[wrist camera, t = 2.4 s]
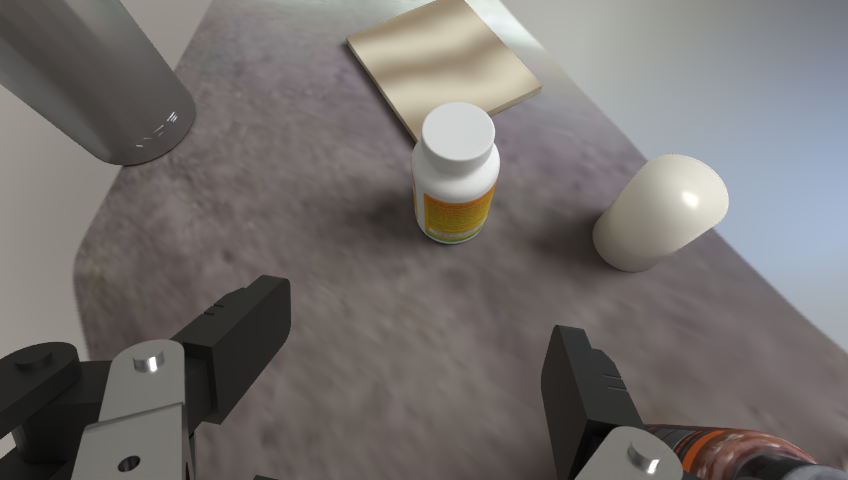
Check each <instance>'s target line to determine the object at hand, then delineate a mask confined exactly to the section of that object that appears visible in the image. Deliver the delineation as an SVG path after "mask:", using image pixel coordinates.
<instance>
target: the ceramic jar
mask: <svg viewBox="0 0 848 480" xmlns="http://www.w3.org/2000/svg"><path fill="white" fill-rule="evenodd" d="M728 204H729V197H728V192H727V189H726V187H725V185H724V183H723V182H722V180H721V179H720V177H719V176H718V175H717V174H716V173H715V172H714V171H713V170H712V169H711V168H710V167H708V166H707V165H705V164H704V163H702V162H700V161H698V160H696V159H693V158H691V157H687V156H684V155H677V154H667V155H661V156H657V157H655V158H653V159H651V160H649V161H648V162H647V163H646V164H645V165H644V166H643V167H642V168H641V169H640V170H639V172H638V173H637V174H636V175H635V176H634V178H633V179H632V180H631V181H630V182H629V183H628V185H627V186H626V187H625V188H624V189H623V190H622V192H621V193H620V194H619V195H618V196H617V198H616V199H615V200H614V201H613V202H612V203H611V205H610V206H609V207H608V208H607V209H606V211H605V212H604V213H603V214H602V215H601V216H600V218H599V219H598V220H597V221H596V223H595V225H594V228H593V234H592V235H593V242H594V245H595V248H596V250H597V252H598V253H599V255H600V256H601V257H602V258H603V259H604V260H605V261H606V262H607V263H609V264H610V265H612V266H613V267H615V268H617V269H620V270H623V271H627V272H642V271H645V270H648V269H650V268H652V267H653V266H655V265H656V264H658V263H659V262H661V261H662V260H664V259H665V258H667V257H668V256H670V255H671V254H673V253H674V252H676V251H677V250H679V249H680V248H682V247H683V246H685V245H686V244H687V243H689V242H690V241H692V240H693V239H695V238H696V237H698V236H699V235H701V234H702V233H704V232H705V231H707V230H708V229H710V228H711V227H713V226H714V225H716V224H717V223H719V222H720V221H721V220H722V219H723V217H724V216H725V214H726V212H727V210H728Z"/></svg>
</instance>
